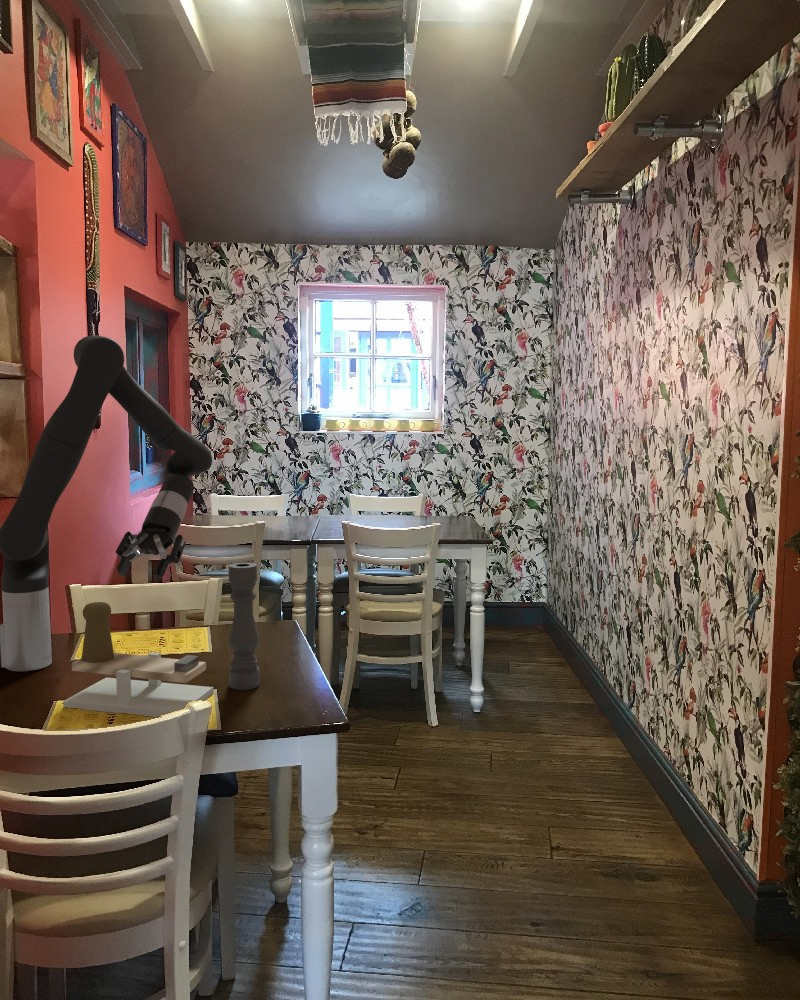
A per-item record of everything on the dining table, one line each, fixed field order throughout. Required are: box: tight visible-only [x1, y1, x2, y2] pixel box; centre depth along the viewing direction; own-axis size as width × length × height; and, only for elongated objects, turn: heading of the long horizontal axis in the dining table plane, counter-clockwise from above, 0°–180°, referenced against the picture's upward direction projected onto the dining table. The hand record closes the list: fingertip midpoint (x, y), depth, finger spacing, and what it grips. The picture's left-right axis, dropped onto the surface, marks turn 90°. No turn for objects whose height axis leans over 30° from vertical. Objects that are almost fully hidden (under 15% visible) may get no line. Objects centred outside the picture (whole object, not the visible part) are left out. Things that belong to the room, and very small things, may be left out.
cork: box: [80, 601, 115, 663], centre depth 155 cm, size 6×6×11 cm
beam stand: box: [62, 651, 214, 718], centre depth 154 cm, size 24×14×8 cm, turn 77°
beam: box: [71, 652, 207, 684], centre depth 154 cm, size 24×8×4 cm, turn 77°
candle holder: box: [228, 562, 261, 691], centre depth 162 cm, size 6×6×25 cm
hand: (138, 575), depth 169 cm, fingers open, 8 cm apart
